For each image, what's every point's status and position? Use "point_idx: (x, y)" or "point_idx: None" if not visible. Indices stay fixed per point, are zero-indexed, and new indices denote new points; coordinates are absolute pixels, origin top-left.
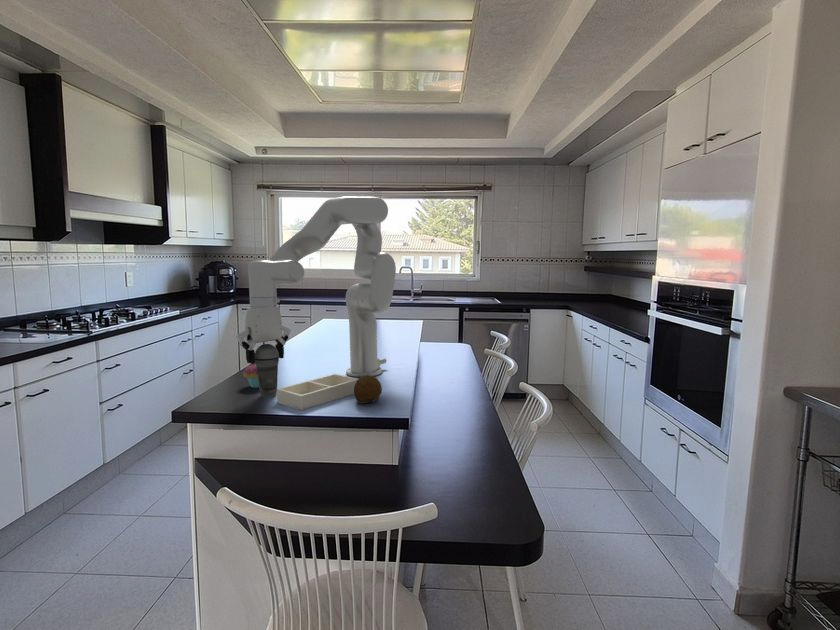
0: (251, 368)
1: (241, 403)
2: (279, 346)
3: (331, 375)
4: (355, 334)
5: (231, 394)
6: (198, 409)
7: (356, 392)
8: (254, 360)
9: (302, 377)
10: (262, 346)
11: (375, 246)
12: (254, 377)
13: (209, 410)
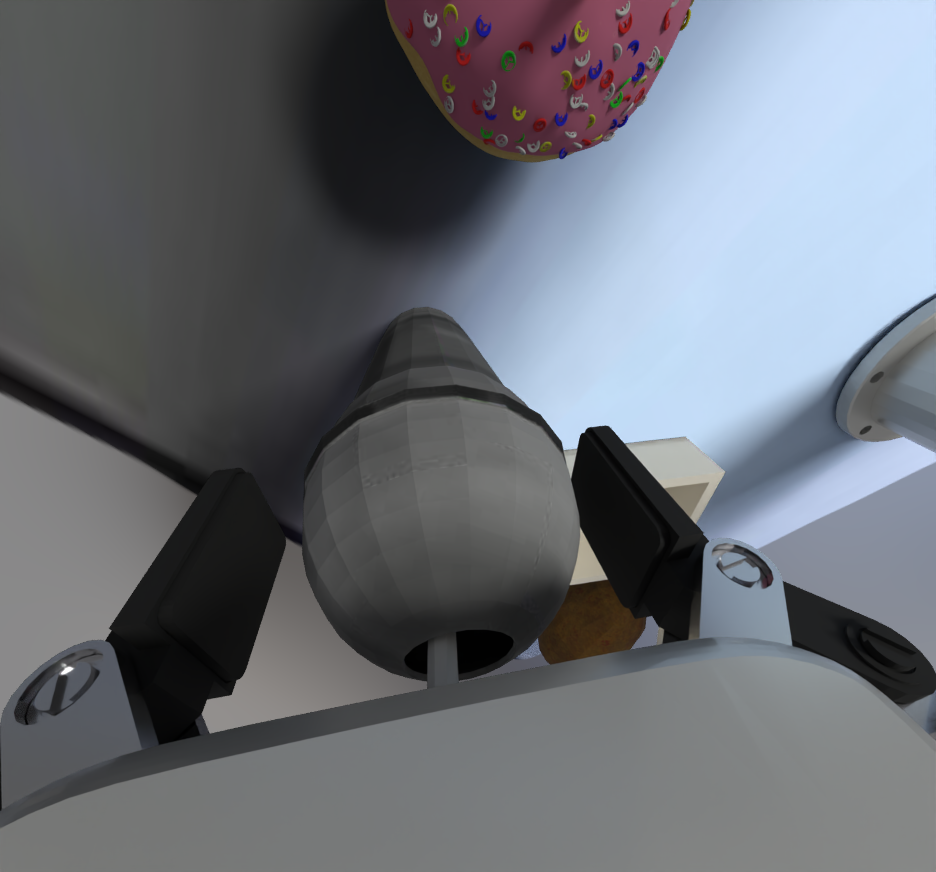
0: None
1: (252, 372)
2: (628, 585)
3: (690, 484)
4: None
5: (223, 93)
6: None
7: (545, 635)
8: (272, 568)
9: (829, 125)
10: (383, 667)
11: None
12: (439, 108)
13: (52, 360)
